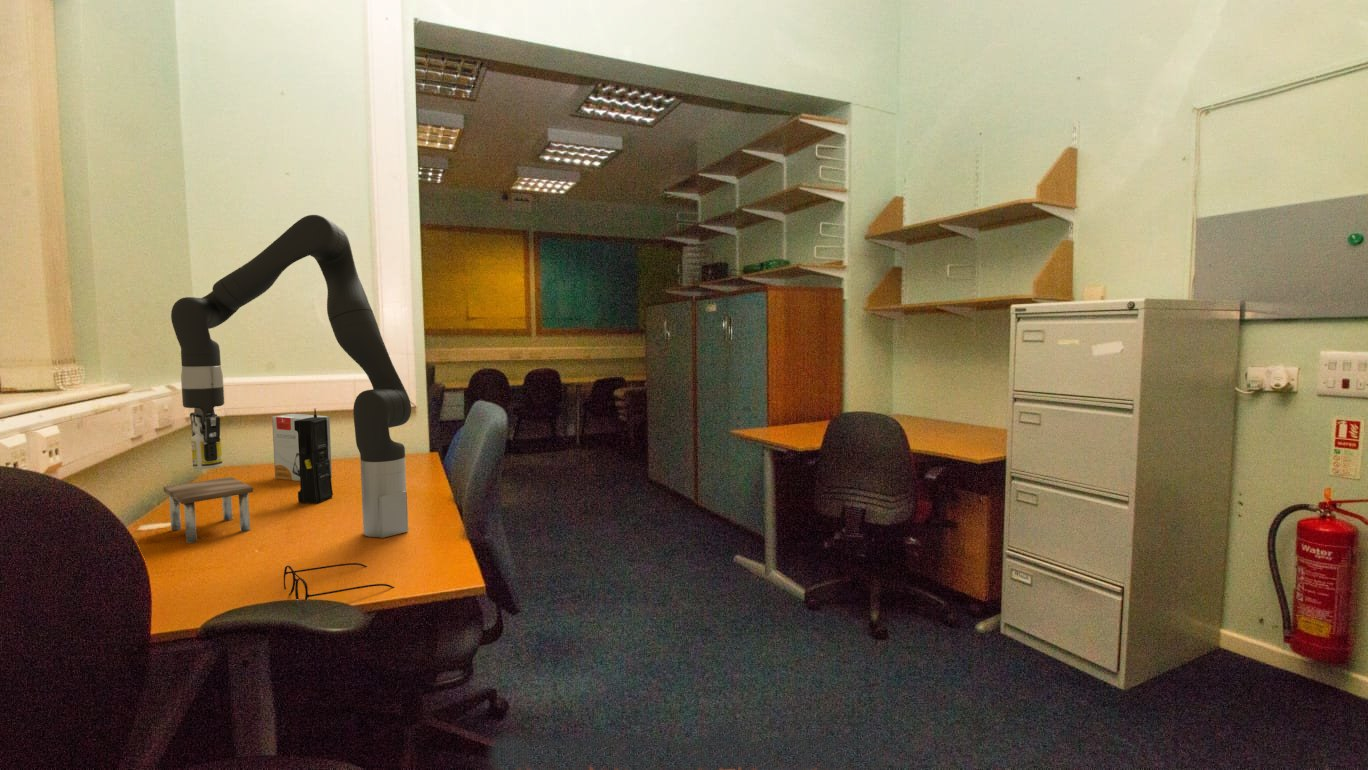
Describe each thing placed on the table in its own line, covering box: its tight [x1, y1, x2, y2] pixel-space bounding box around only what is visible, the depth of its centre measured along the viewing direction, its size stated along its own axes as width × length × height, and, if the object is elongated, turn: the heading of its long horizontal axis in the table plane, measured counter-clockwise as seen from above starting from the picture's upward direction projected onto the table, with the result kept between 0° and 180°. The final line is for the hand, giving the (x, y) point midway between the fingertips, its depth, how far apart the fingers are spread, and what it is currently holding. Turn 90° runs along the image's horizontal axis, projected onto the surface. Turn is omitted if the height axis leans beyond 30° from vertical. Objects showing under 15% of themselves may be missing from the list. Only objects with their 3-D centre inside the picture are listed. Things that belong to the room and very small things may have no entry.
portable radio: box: [294, 409, 334, 504], centre depth 167 cm, size 8×6×25 cm
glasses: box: [283, 562, 395, 601], centre depth 111 cm, size 14×15×5 cm
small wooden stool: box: [163, 476, 254, 544], centre depth 143 cm, size 16×13×10 cm
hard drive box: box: [271, 413, 333, 482], centre depth 193 cm, size 16×8×20 cm, turn 73°
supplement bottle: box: [190, 425, 223, 470], centre depth 141 cm, size 5×5×10 cm
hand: (207, 458), depth 142 cm, fingers closed on supplement bottle, 5 cm apart
